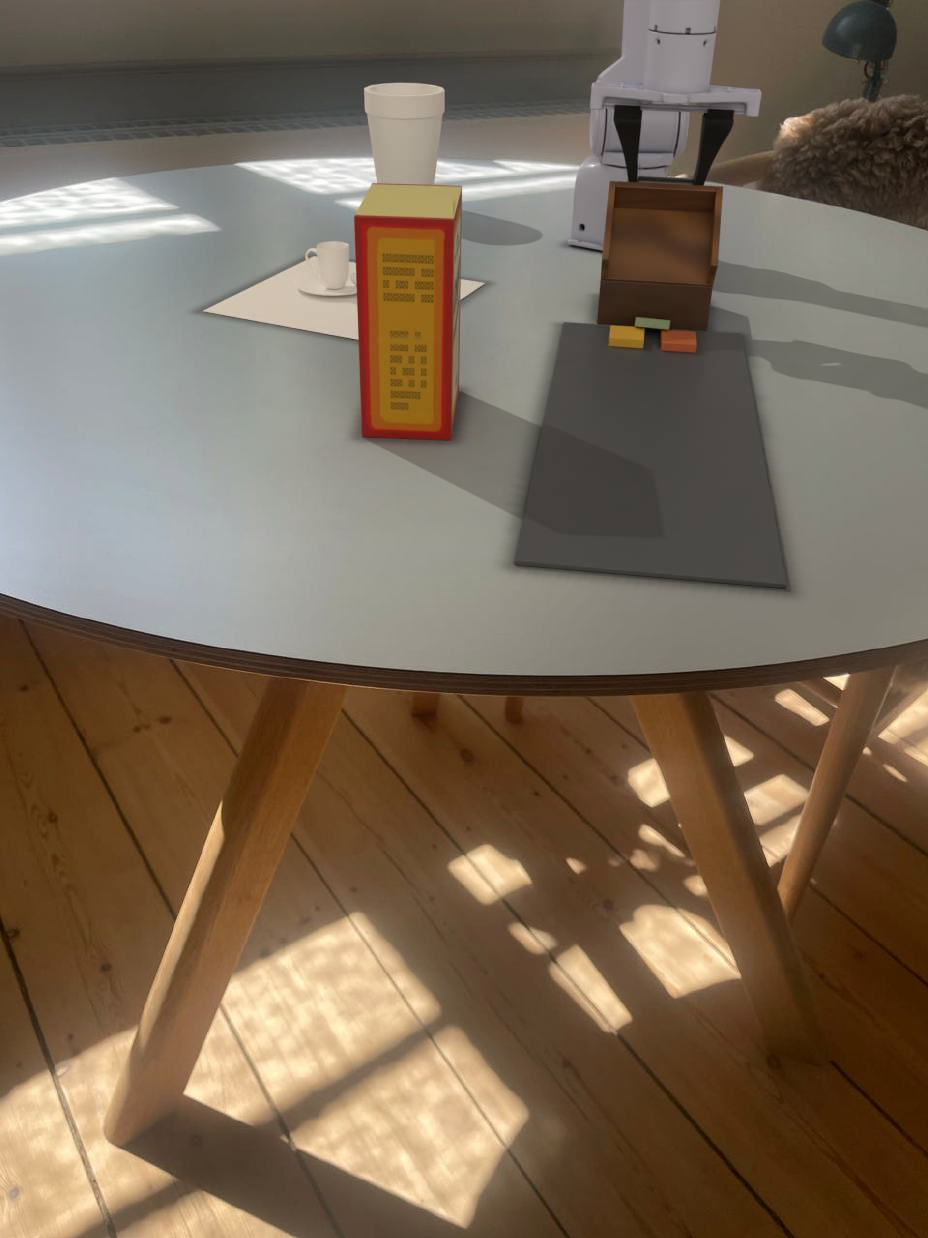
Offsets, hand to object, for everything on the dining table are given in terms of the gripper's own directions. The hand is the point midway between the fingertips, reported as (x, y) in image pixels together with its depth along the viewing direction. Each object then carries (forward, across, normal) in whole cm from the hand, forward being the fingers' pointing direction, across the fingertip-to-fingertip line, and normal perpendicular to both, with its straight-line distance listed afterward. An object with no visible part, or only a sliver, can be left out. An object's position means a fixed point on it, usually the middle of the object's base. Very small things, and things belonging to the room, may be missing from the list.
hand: (663, 197), depth 102 cm
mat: (+10, 0, -29) cm, 30 cm away
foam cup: (+10, -30, +33) cm, 46 cm away
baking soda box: (+10, -18, -29) cm, 36 cm away
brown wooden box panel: (+10, 0, -2) cm, 10 cm away
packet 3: (+9, 0, -9) cm, 13 cm away
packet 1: (+9, -2, -11) cm, 14 cm away
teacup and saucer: (+10, -29, -3) cm, 31 cm away
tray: (+3, 0, -2) cm, 4 cm away
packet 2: (+9, +2, -12) cm, 15 cm away
